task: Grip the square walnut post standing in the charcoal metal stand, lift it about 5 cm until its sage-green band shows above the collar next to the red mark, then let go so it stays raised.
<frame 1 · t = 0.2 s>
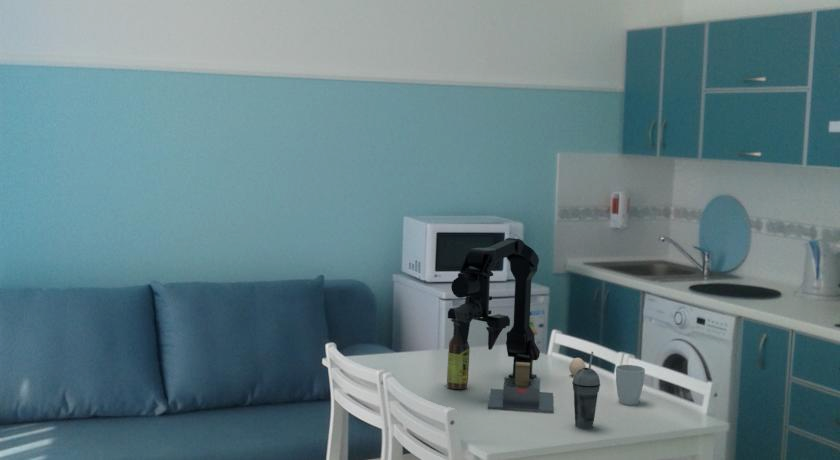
hand: (477, 346, 288), 14 cm above the table, fingers open, 9 cm apart
sauce bottle: (457, 388, 297), on the table
post: (522, 381, 283), point 6 cm above the table, slide at 0.0 cm
cup: (628, 403, 287), on the table
egg: (576, 376, 315), on the table
stand: (521, 402, 284), on the table
beverage cup: (583, 427, 263), on the table
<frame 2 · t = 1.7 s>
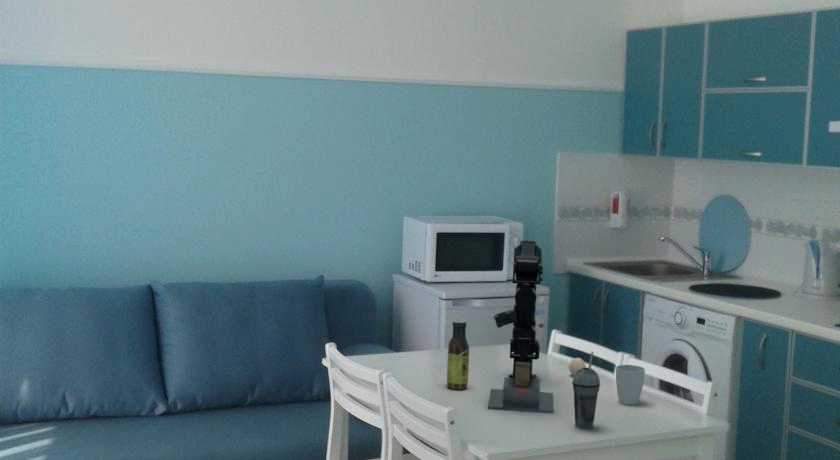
hand: (523, 357, 283), 13 cm above the table, fingers open, 9 cm apart
nothing on the table moved.
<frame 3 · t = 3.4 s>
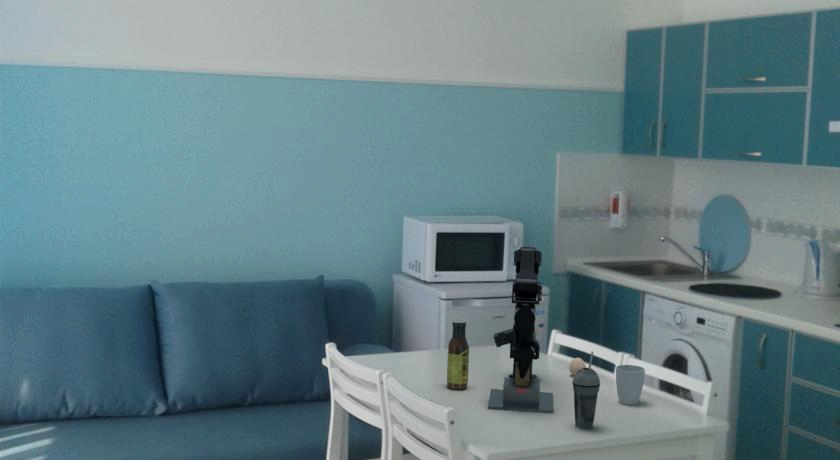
hand: (522, 376, 283), 7 cm above the table, fingers closed on post, 4 cm apart
post: (522, 381, 283), point 6 cm above the table, slide at 0.0 cm, touching gripper
everything else where it was.
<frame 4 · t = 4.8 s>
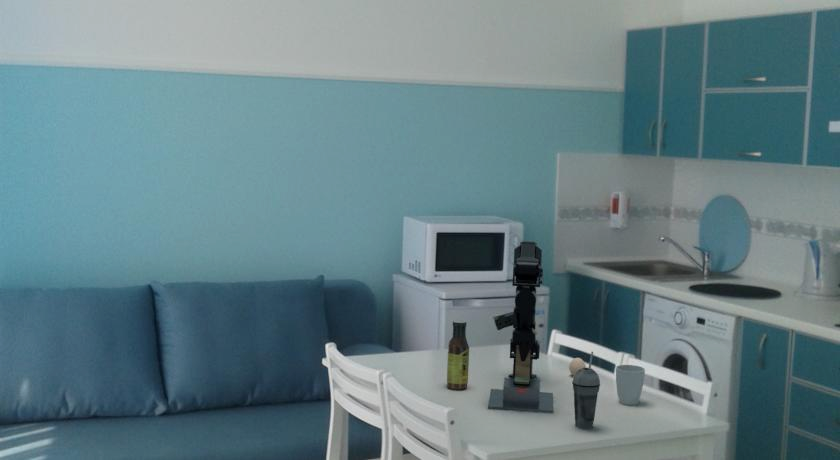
hand: (523, 359, 283), 12 cm above the table, fingers closed on post, 4 cm apart
post: (522, 364, 283), point 11 cm above the table, slide at 4.8 cm, touching gripper
everything else where it was.
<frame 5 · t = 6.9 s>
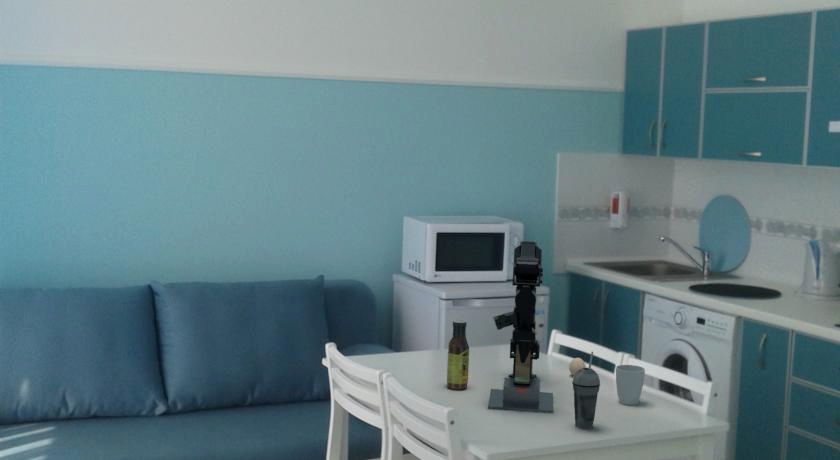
hand: (523, 358, 282), 12 cm above the table, fingers open, 9 cm apart
post: (522, 364, 283), point 11 cm above the table, slide at 4.9 cm
everything else where it was.
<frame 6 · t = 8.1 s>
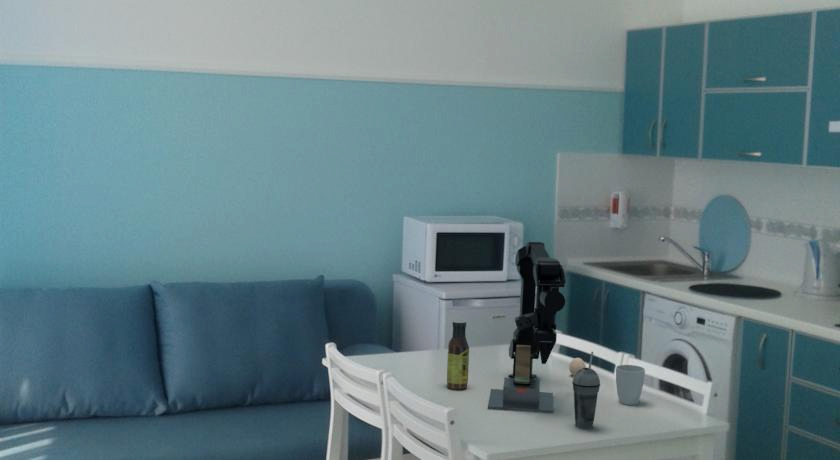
hand: (543, 359, 282), 13 cm above the table, fingers open, 9 cm apart
nothing on the table moved.
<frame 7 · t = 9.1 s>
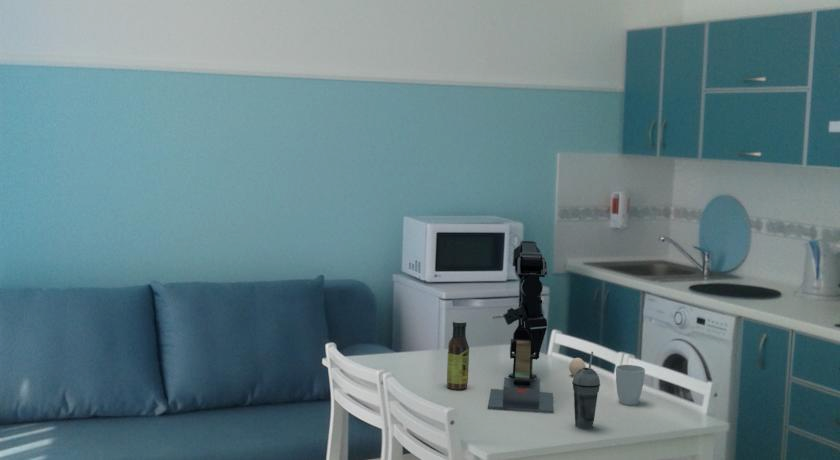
hand: (536, 351, 288), 13 cm above the table, fingers open, 9 cm apart
post: (523, 360, 283), point 12 cm above the table, slide at 6.1 cm, touching gripper
everything else where it was.
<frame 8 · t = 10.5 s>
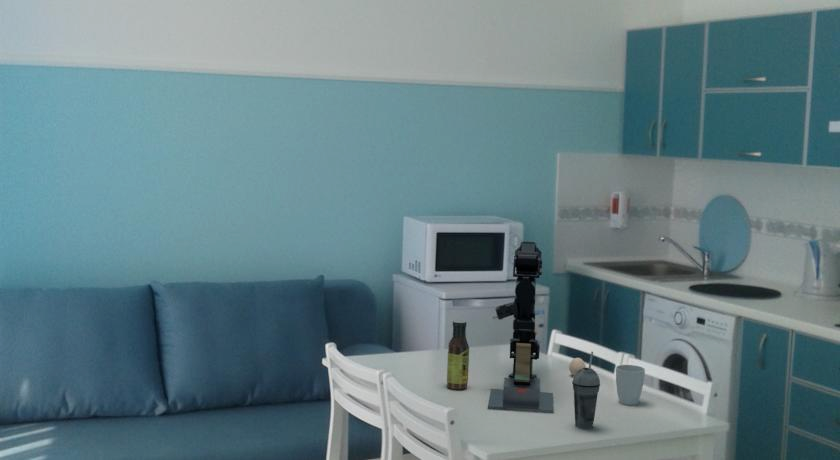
hand: (523, 347, 294), 13 cm above the table, fingers open, 9 cm apart
post: (522, 362, 283), point 11 cm above the table, slide at 5.5 cm
everything else where it was.
at the end: post slide at 5.5 cm; the gripper is holding nothing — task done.
